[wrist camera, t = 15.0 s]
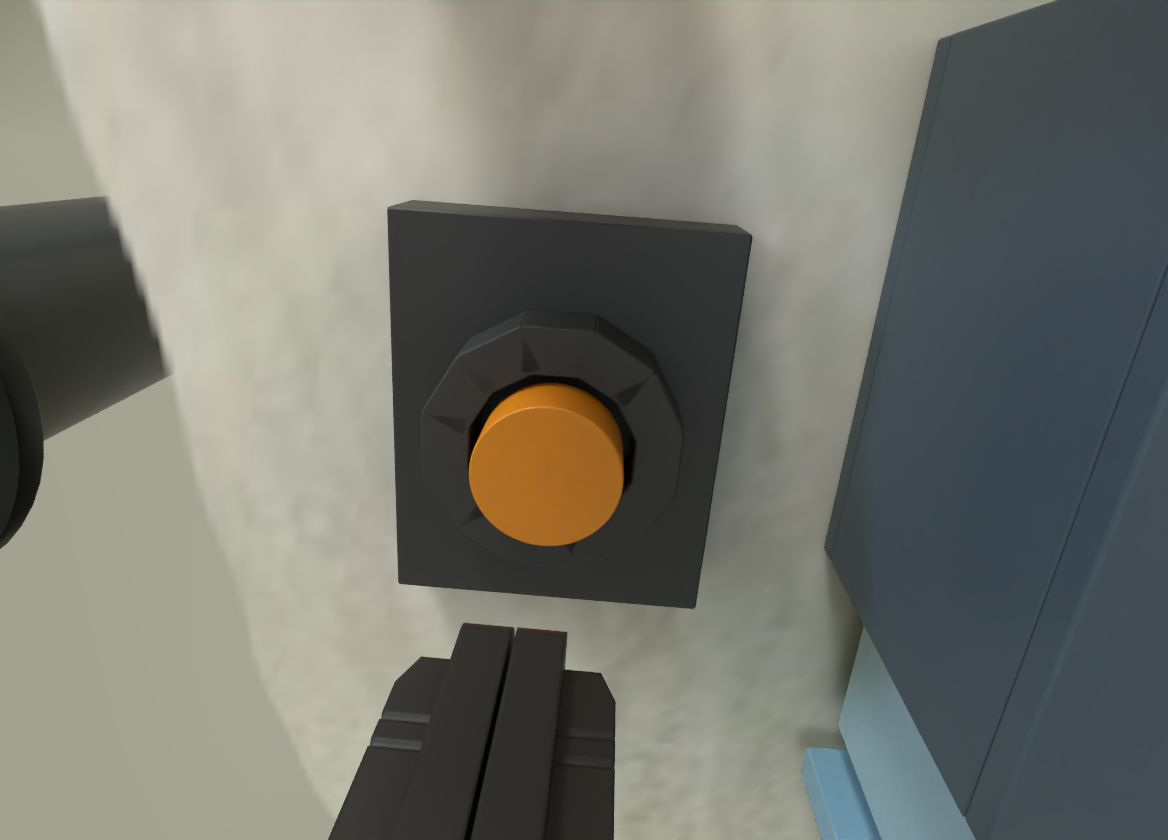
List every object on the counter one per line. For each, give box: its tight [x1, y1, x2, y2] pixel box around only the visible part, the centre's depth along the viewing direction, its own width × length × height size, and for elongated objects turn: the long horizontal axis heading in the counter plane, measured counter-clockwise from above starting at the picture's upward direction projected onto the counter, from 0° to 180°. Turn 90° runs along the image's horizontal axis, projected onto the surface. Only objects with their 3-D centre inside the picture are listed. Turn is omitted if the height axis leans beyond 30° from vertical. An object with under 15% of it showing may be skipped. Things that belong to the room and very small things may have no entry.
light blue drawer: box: [801, 627, 975, 840], centre depth 19 cm, size 18×11×9 cm, turn 176°
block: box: [387, 200, 752, 609], centre depth 19 cm, size 9×11×4 cm
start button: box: [469, 383, 624, 546], centre depth 17 cm, size 4×4×2 cm
